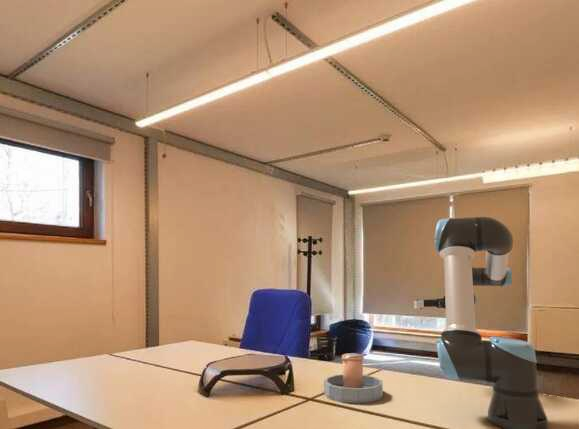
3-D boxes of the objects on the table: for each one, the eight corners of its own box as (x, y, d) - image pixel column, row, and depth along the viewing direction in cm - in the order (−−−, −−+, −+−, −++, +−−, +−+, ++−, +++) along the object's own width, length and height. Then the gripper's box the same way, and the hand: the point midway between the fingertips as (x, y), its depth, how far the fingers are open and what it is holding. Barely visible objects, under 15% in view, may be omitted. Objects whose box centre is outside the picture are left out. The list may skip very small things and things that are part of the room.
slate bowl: (381, 405, 137) (381, 390, 138) (320, 401, 142) (320, 386, 143) (383, 388, 156) (383, 375, 157) (329, 385, 161) (329, 372, 162)
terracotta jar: (363, 395, 145) (362, 357, 146) (341, 393, 147) (340, 356, 148) (364, 388, 152) (364, 353, 154) (343, 387, 154) (342, 352, 155)
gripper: (488, 313, 163) (468, 318, 147) (425, 309, 179) (401, 314, 164) (486, 293, 164) (466, 296, 148) (424, 291, 180) (400, 294, 165)
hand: (432, 305), depth 156 cm, fingers open, 13 cm apart
